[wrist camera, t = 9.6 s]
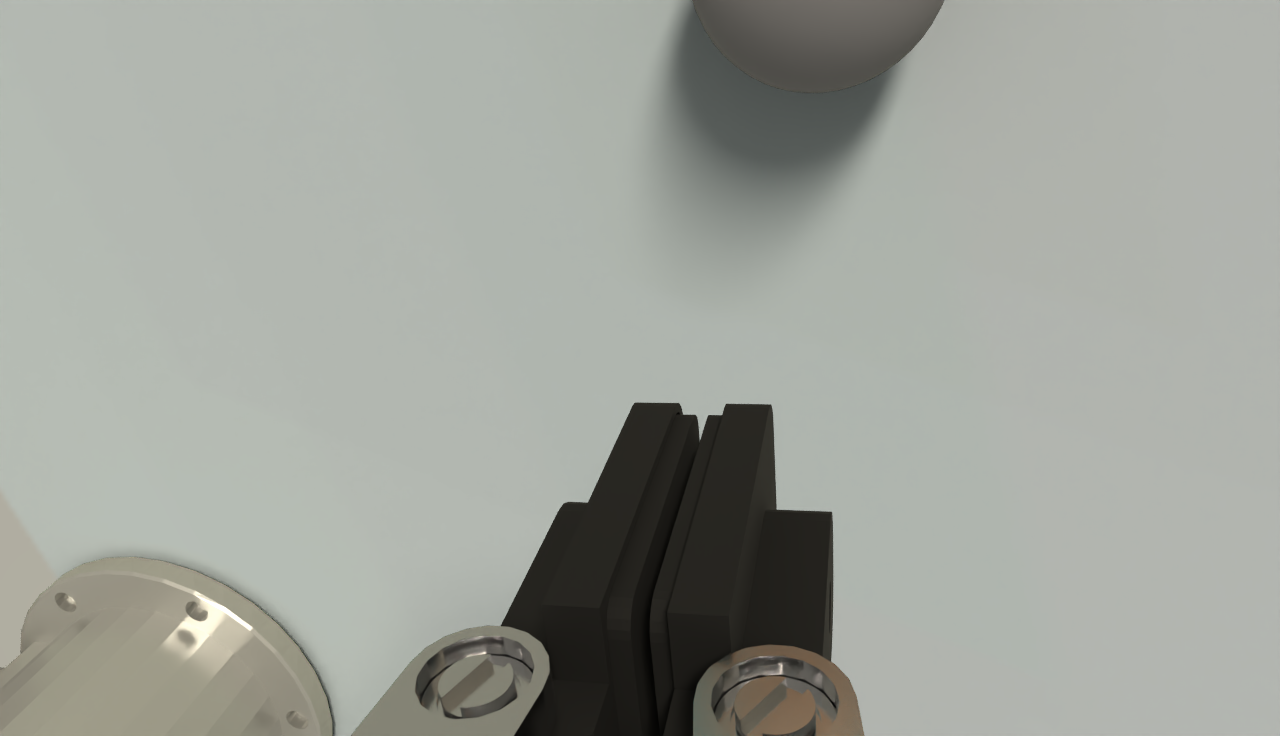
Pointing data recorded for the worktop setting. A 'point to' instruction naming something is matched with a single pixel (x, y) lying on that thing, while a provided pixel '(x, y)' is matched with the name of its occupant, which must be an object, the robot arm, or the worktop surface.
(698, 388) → the worktop surface
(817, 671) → the robot arm
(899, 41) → the cue ball
